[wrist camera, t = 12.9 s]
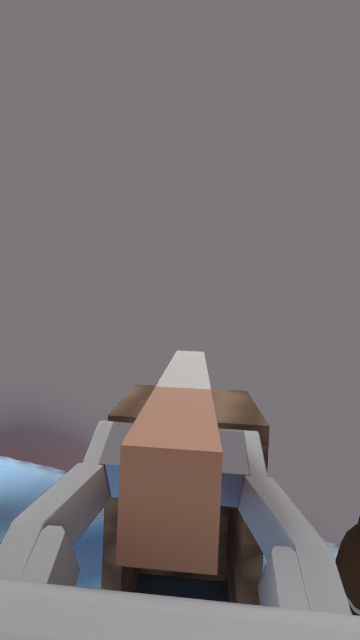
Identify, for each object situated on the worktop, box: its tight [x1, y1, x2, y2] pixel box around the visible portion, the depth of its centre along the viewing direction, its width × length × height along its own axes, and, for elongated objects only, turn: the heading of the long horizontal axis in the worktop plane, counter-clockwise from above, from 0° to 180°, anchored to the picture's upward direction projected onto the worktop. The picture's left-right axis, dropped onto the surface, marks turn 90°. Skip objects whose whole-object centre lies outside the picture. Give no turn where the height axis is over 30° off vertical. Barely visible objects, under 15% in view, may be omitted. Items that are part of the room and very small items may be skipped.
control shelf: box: [101, 385, 269, 605], centre depth 35 cm, size 16×13×26 cm
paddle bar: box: [116, 351, 223, 575], centre depth 17 cm, size 2×20×3 cm, turn 176°
